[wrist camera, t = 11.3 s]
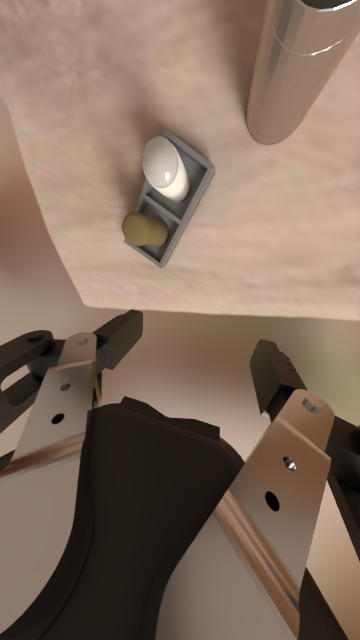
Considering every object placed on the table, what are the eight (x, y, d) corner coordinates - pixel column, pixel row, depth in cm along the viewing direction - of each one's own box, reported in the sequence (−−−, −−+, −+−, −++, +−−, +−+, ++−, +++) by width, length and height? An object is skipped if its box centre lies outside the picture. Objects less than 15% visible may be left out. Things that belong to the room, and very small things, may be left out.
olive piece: (139, 233, 36) (110, 229, 27) (155, 210, 34) (128, 197, 24) (158, 253, 37) (136, 256, 28) (174, 232, 35) (156, 227, 25)
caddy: (169, 137, 29) (163, 127, 26) (215, 172, 29) (214, 165, 27) (130, 241, 39) (123, 241, 36) (165, 266, 39) (161, 267, 37)
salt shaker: (164, 166, 30) (140, 133, 21) (192, 168, 29) (179, 134, 20) (163, 201, 33) (140, 186, 24) (188, 204, 32) (175, 188, 23)
